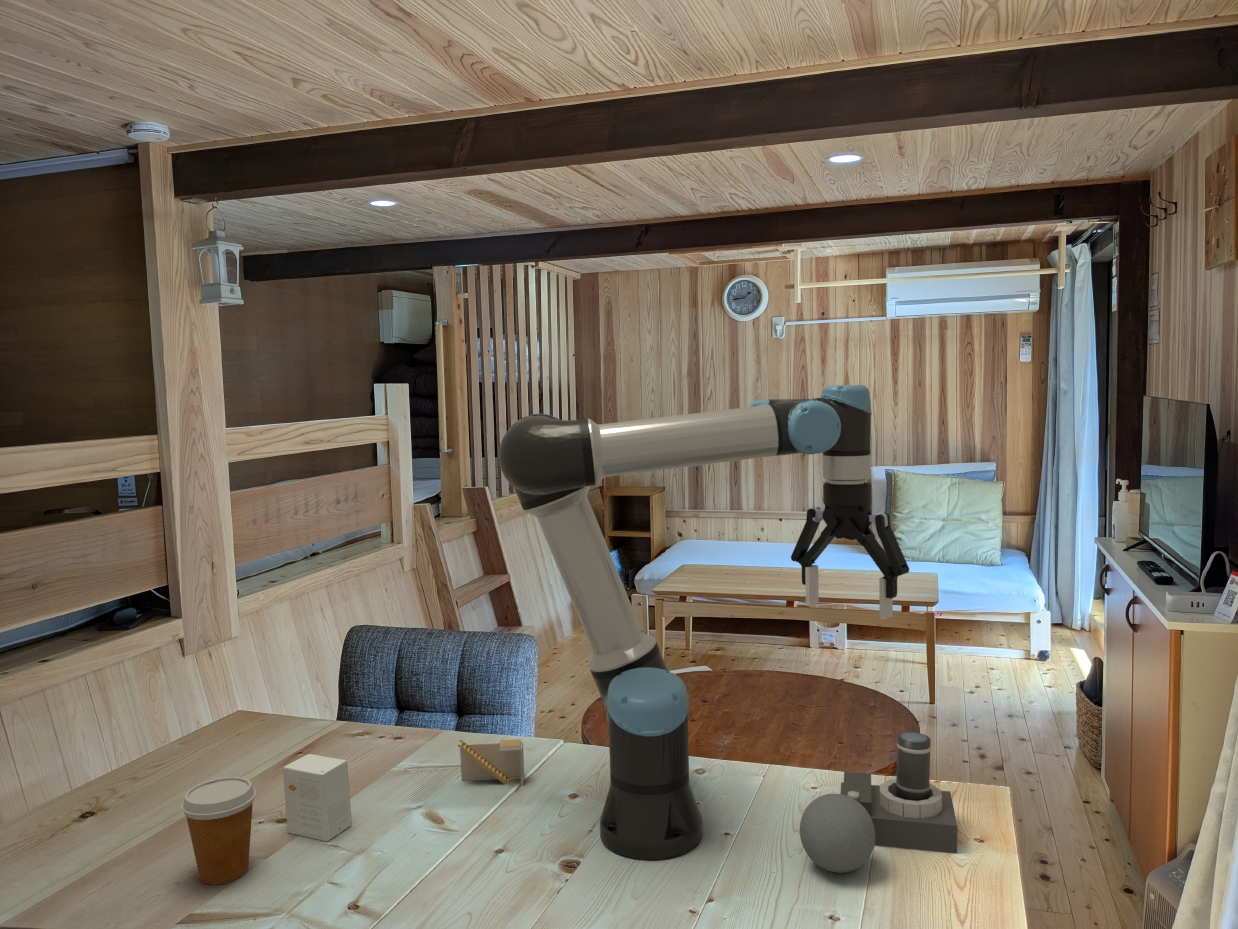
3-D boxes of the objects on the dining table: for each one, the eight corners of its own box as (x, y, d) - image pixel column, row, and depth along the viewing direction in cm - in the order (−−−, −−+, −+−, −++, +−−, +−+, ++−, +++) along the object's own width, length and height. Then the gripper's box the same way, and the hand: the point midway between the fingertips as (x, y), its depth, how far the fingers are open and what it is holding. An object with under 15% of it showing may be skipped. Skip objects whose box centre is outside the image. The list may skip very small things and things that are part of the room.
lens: (920, 815, 130) (921, 746, 129) (889, 804, 133) (891, 737, 132) (935, 804, 133) (936, 736, 132) (905, 794, 136) (906, 728, 135)
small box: (352, 826, 140) (349, 760, 139) (327, 843, 135) (322, 774, 134) (313, 817, 143) (309, 752, 142) (286, 833, 138) (282, 766, 137)
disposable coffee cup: (214, 898, 121) (208, 811, 120) (172, 880, 126) (166, 796, 125) (275, 865, 129) (270, 784, 128) (233, 849, 134) (227, 770, 133)
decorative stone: (813, 843, 131) (813, 775, 130) (883, 859, 126) (883, 790, 125) (789, 876, 122) (788, 804, 121) (863, 895, 117) (863, 820, 116)
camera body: (839, 841, 131) (838, 797, 130) (841, 807, 141) (840, 766, 141) (957, 853, 127) (957, 808, 126) (950, 817, 137) (950, 774, 137)
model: (523, 788, 152) (521, 743, 152) (459, 791, 152) (457, 746, 151) (524, 779, 156) (522, 736, 155) (461, 782, 155) (459, 739, 155)
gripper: (931, 483, 140) (931, 618, 142) (795, 475, 157) (796, 595, 159) (907, 488, 134) (908, 628, 136) (769, 479, 152) (771, 603, 154)
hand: (847, 611), depth 148 cm, fingers open, 13 cm apart
